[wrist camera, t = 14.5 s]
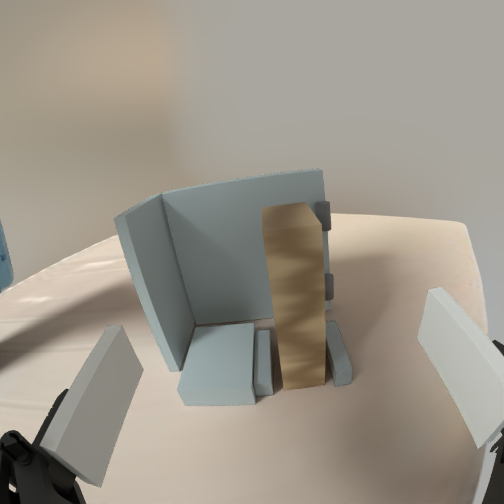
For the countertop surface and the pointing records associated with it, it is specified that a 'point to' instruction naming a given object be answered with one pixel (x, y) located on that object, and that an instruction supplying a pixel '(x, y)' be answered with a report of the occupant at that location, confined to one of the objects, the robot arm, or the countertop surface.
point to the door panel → (297, 291)
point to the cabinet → (219, 281)
